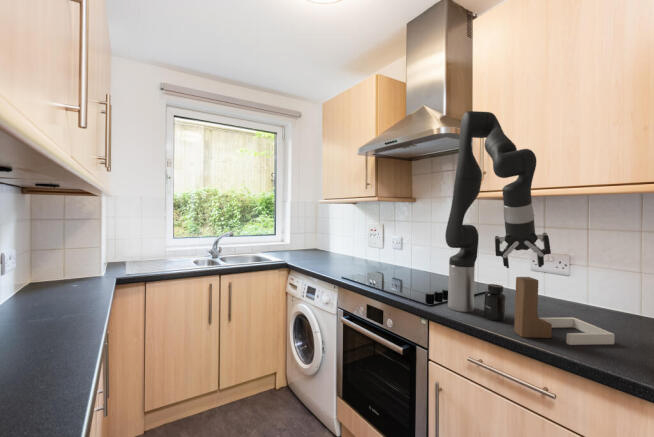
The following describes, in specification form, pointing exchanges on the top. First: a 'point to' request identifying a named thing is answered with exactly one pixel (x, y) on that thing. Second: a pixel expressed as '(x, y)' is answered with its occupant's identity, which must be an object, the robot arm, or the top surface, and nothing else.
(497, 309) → the supplement bottle
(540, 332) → the wooden block
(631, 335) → the top surface
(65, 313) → the top surface
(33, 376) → the top surface
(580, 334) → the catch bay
